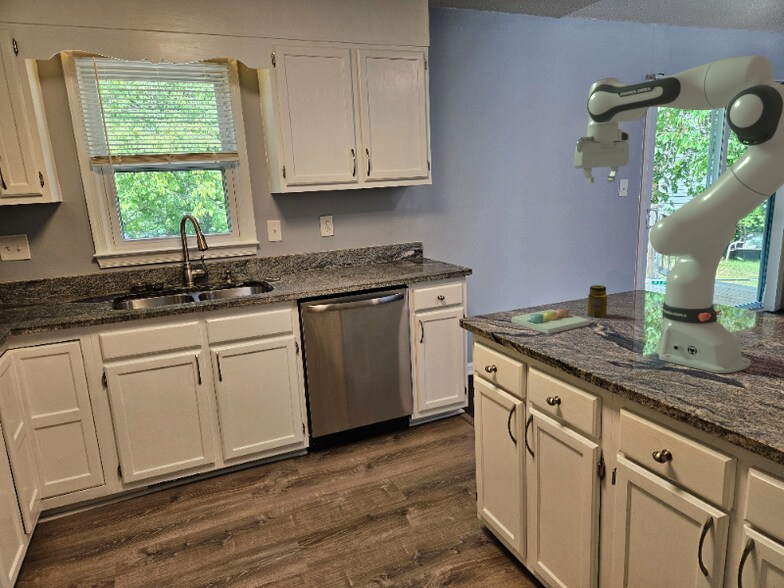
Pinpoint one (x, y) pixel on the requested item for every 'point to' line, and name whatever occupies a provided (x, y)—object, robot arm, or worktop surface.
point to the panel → (551, 322)
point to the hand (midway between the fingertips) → (600, 182)
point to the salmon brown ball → (562, 313)
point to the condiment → (597, 302)
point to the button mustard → (549, 316)
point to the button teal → (537, 318)
